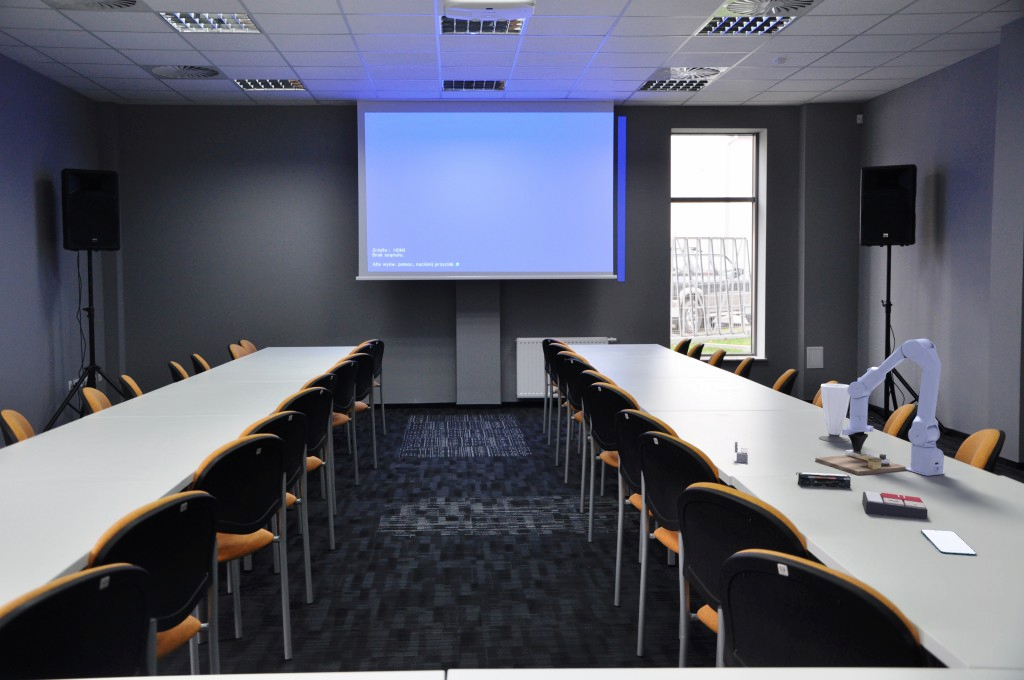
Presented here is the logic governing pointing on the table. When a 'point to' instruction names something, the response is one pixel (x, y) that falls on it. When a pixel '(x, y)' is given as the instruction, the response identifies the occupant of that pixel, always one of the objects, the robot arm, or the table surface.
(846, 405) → the cup
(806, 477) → the black flat case
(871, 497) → the dark grey box
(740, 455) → the architectural model
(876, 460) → the wooden block
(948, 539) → the smartphone
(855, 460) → the base plate
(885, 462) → the grey link
